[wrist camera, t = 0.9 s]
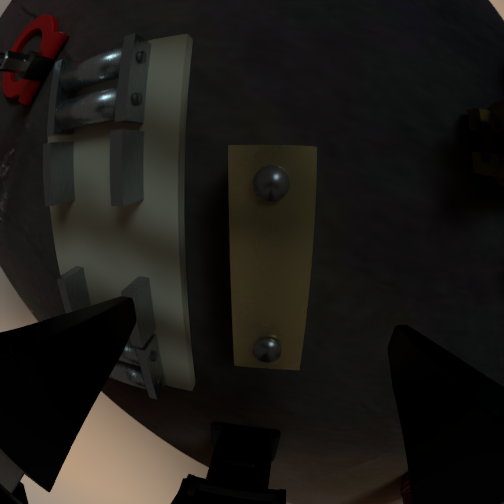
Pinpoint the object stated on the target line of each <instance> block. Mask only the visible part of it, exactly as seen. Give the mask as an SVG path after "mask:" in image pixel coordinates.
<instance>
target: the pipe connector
mask: <svg viewBox="0 0 504 504" xmlns="http://www.w3.org/2000/svg"><path fill="white" fill-rule="evenodd" d="M467 113H468V119H469V127H470V131H476V132H482V140H483V151H484V152H472V161H473V173H477V174H483V175H491V176H492V177H493V178H494V180H495V181H496V182H497V183H498V184H500V185H501V186H503V187H504V101H498V102H494V103H493V104H492V105H490V106H489V108H488V109H487V110H485V109H481V108H477V109H471V110H467Z"/></svg>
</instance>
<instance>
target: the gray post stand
mask: <svg viewBox="0 0 504 504" xmlns="http://www.w3.org/2000/svg"><path fill="white" fill-rule="evenodd" d="M39 30H41V31H42V42H41V45H40V51H42V52H43V53H38V52H34V51H29V52H28V54H23V53H20V51H21V50H22V48H23V46H24V45H25V43H26V42H27V40H28V39H29V38H30V37H31V36H32V35H33V34H34V33H35V32H37V31H39ZM67 38H68V35H67V34H66V33H63V32H61V31H58V21H57V20H56V18H55V17H53V16H50V15H43V16H40V17H38V18H37V19H35V20H34V21H33V22H31V23H30V24H29V25H28V26H27V27H26V28H25V30H24V31H23V32H22V33H21V35H20V36H19V37H18V39H17V40H16V42H15V44H14V46H13V48H12V49H11V51H6V52H5V53H1V52H0V71H4V72H3V79H2V85H3V91H4V94H5V95H6V96H7V97H10V98H18V97H19V100H18V101H19V102H20V103H22V104H25V105H30V104H31V102H32V100H33V98H34V96H35V94H36V91H37V89H38V87H39V85H40V84H41V82H42V81H43V80H44V78H45V76H46V74H47V73H48V71H49V69H50V67H51V65H52V64H53V62H54V60H55V59H54V58H55V57H56V55H57V53H58V52H59V50H60V49H61V47H62V45H63V44H64V42H65V41H66V39H67ZM14 73H18V75H19V76H20V77H21V79H20V80H19V81H17V82H16V81H15V78H14Z"/></svg>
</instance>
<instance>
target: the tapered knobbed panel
mask: <svg viewBox="0 0 504 504" xmlns="http://www.w3.org/2000/svg"><path fill="white" fill-rule="evenodd" d="M316 172H317V147H311V146H288V145H228V183H229V238H230V273H231V302H232V327H233V349H234V366H243V367H254V368H266V369H282V370H299V369H300V362H301V355H302V347H303V339H304V331H305V323H306V314H307V305H308V296H309V285H310V274H311V263H312V250H313V236H314V219H315V200H316Z"/></svg>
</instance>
